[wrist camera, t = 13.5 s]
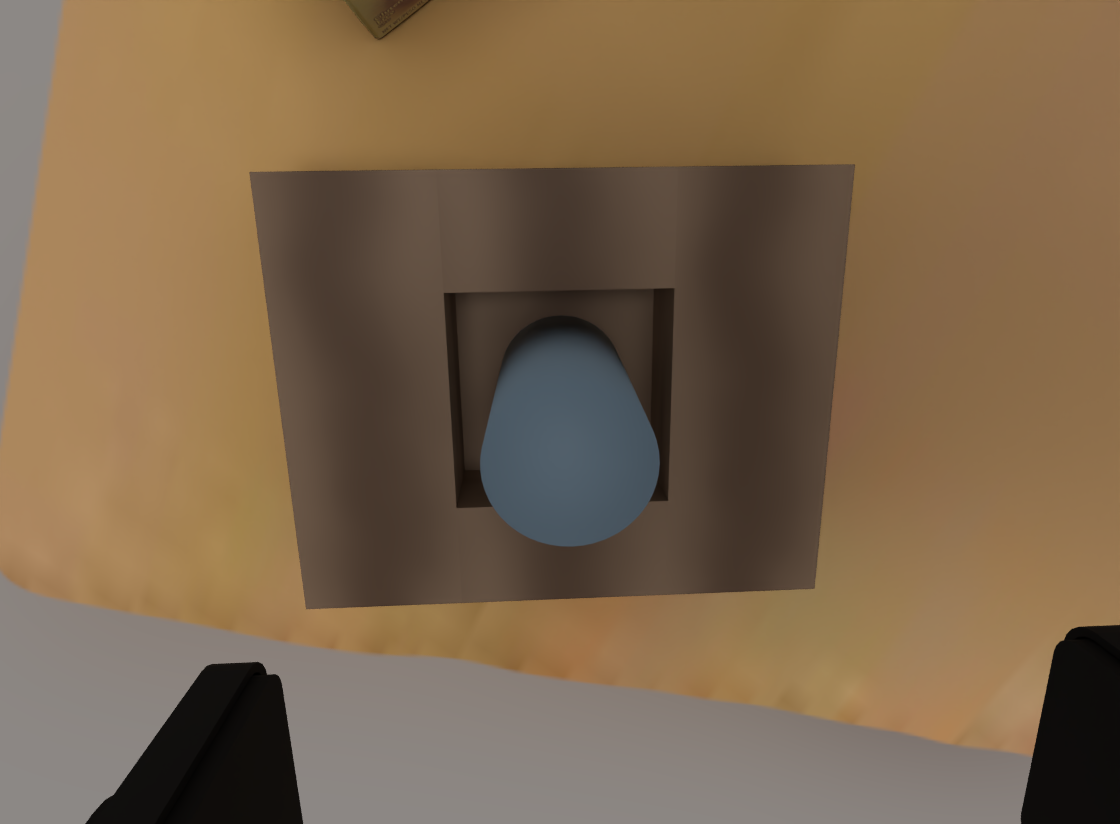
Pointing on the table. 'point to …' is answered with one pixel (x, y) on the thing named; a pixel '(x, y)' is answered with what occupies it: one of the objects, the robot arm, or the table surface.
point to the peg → (567, 437)
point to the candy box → (383, 13)
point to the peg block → (491, 324)
